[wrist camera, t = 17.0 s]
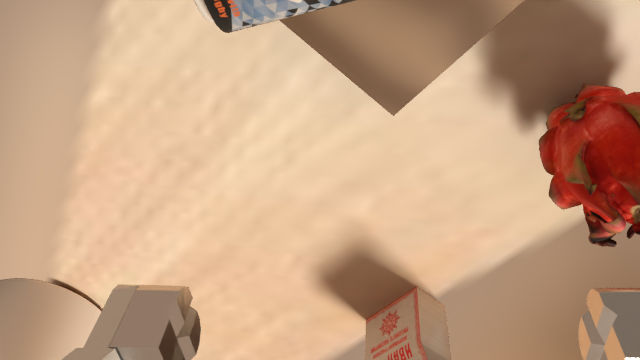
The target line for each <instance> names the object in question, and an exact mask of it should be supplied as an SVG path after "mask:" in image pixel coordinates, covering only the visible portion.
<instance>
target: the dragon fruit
mask: <svg viewBox="0 0 640 360" xmlns="http://www.w3.org/2000/svg"><path fill="white" fill-rule="evenodd" d="M575 98H577V103H574V102H573V103H567V104H563V105H561V106H558V107H555V108H553V111H552V112H551V113H550V115H549V116H548V119H547V123H546V125H547V129H548V131H547V132H546V133H545V134H544V135H543V136H542V137H541V138H540V140H539V150H540V157H541V160H542V163H543V167H544V169H545V170H546V172H548V173H549V174H551V175H554V176H553V178H552V180H551V184H550V189H549V197H550V198H551V199H552V200H553V202H554V203H555V204H556V205H557V206H559V207H560V208H561V209H568V208H571V207H574V206H578V205H581V204H583V211H584V214H585V219H586V221H587V224H588V227H589V231H590V236H589V241H590V243H592V244H596V245H600V246H611V247H614V246H616V241H614V240H611V238H612V237H613V236H614V235H616V233H620V232H621V231H622V230H623V229H624V228H625V226H626V222H628V223H630V224H633V225H632V226H631V227H630V228H629V229H628V231H627V237H628V238H631V237H632V236H633V235H634V234H635V233H636V234H639V235H640V92H633V93H630V94H628V95H626V94H625V92H624V91H623V90H622V89H620V88H616V87H608V86H598V85H587V84H583V86H582V88H581V90H580V92H579V94H577V95H576V97H575Z"/></svg>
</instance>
